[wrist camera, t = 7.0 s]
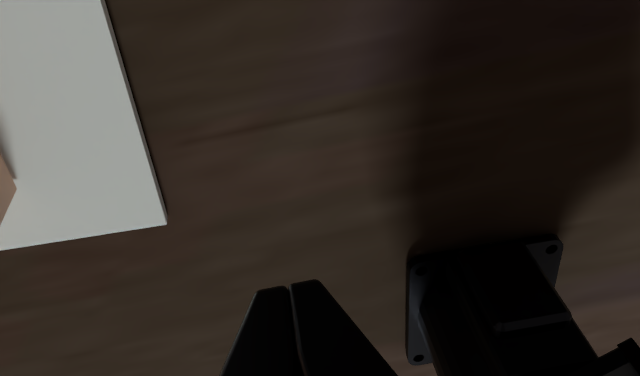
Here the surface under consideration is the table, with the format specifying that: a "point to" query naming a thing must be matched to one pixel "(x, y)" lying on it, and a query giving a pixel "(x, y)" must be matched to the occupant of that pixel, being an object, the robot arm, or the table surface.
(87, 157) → the mat
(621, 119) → the table surface
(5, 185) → the tile
